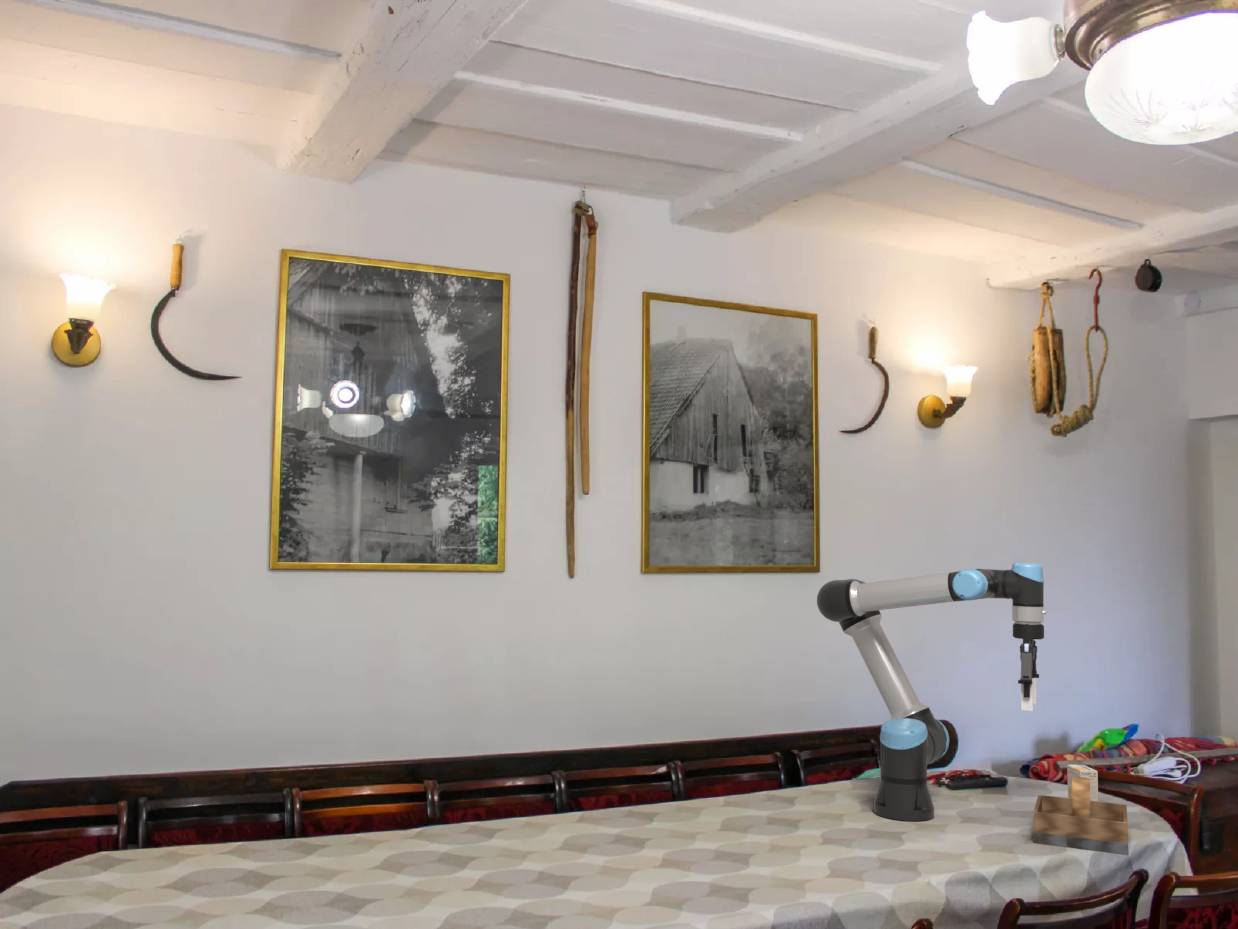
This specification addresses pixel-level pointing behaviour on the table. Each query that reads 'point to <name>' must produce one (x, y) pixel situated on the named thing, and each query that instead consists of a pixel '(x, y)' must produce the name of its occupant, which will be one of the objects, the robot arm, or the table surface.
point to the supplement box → (1086, 773)
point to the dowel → (1081, 797)
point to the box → (1081, 825)
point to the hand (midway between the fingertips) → (1029, 707)
